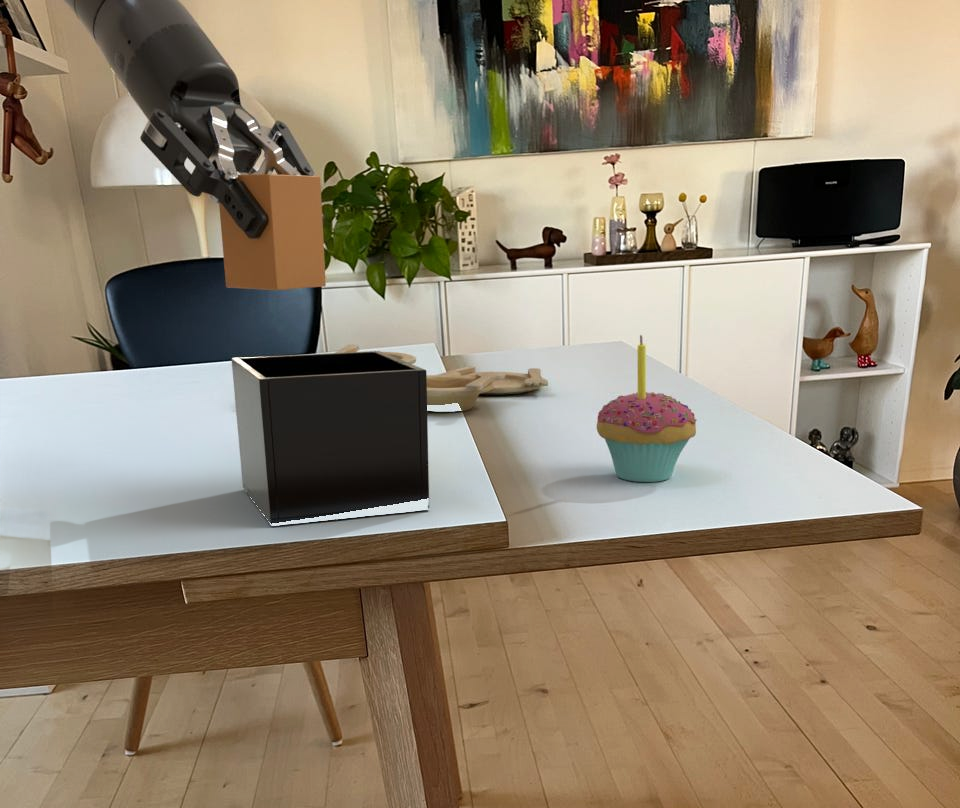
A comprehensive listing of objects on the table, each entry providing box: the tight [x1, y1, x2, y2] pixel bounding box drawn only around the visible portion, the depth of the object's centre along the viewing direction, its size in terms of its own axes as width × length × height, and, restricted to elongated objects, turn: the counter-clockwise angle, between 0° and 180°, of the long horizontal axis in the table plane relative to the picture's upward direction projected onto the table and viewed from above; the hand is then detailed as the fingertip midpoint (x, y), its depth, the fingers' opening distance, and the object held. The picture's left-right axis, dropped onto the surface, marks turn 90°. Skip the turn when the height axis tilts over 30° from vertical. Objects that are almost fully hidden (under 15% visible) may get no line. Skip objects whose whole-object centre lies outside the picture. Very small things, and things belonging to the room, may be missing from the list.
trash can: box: [230, 350, 430, 524], centre depth 81 cm, size 12×12×11 cm
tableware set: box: [334, 343, 549, 413], centre depth 130 cm, size 35×29×4 cm
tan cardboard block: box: [218, 173, 327, 291], centre depth 80 cm, size 6×6×8 cm
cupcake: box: [596, 334, 698, 483], centre depth 88 cm, size 9×8×12 cm
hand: (289, 229), depth 80 cm, fingers closed on tan cardboard block, 5 cm apart
